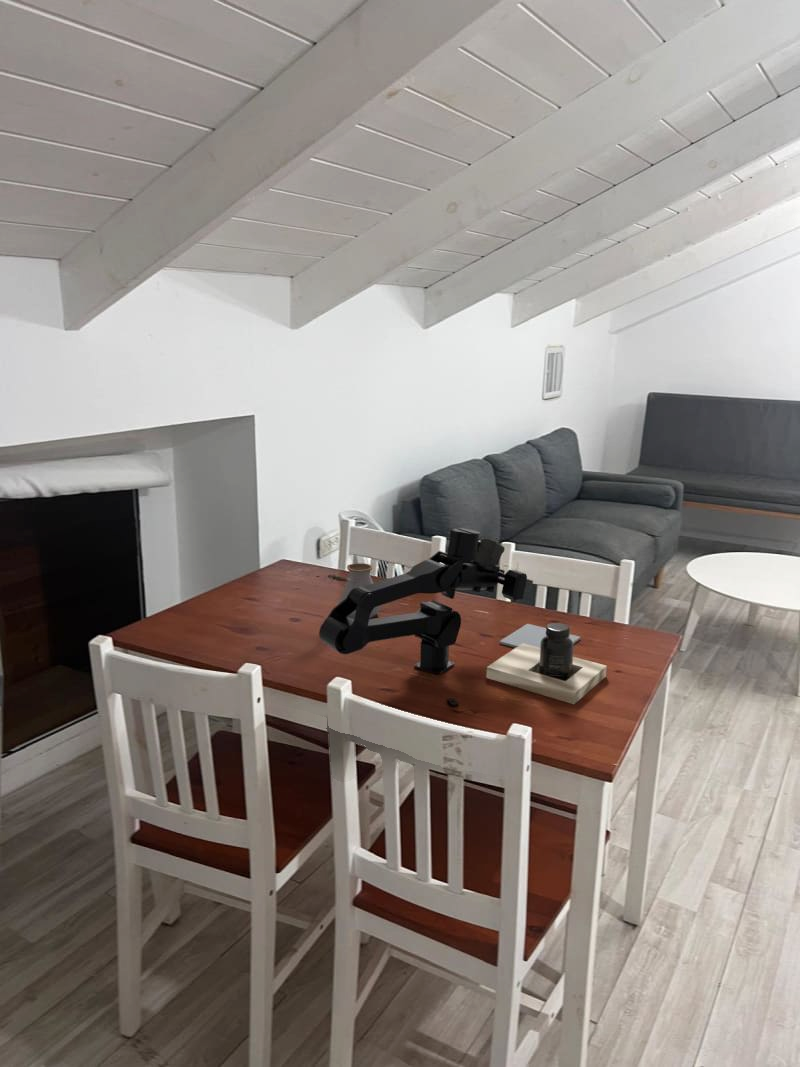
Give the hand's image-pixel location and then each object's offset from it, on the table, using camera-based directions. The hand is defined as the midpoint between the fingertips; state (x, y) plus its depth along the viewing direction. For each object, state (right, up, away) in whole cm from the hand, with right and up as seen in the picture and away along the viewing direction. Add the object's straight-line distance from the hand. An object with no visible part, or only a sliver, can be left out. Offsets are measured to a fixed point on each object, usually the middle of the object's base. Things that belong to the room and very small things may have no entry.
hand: (517, 577), depth 186 cm
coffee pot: (-40, -12, +16) cm, 44 cm away
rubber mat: (+6, -15, +4) cm, 17 cm away
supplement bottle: (+6, -21, -16) cm, 27 cm away
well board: (+4, -20, -15) cm, 25 cm away
